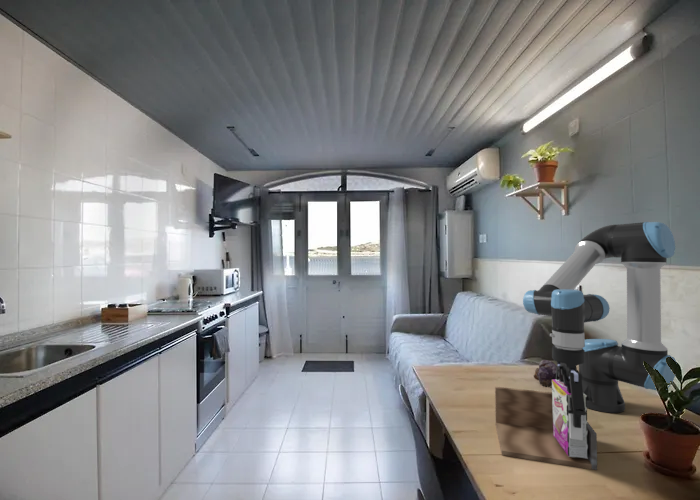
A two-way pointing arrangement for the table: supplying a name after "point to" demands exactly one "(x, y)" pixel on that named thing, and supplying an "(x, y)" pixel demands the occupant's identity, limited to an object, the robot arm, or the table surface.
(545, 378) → the rock
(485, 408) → the table surface
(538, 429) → the shelf
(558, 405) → the candy bar box
